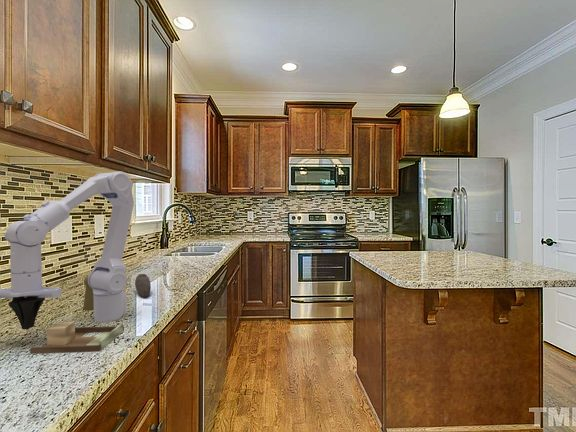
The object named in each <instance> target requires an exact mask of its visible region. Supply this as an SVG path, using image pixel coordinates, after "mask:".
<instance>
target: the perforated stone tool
mask: <svg viewBox="0 0 576 432" xmlns="http://www.w3.org/2000/svg"><path fill="white" fill-rule="evenodd" d="M134 285H135V286H134V287H135V289H136V292H137V294H139V296H141V297H148V296H149V295H150V293H151V289H152V284H151V281H150V277H149V276H148V275H147V274H146V273H139V274H137V276H136V277H135V281H134Z"/></svg>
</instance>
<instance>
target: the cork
mask: <svg viewBox="0 0 576 432" xmlns="http://www.w3.org/2000/svg"><path fill="white" fill-rule="evenodd" d="M88 277H89V275H87V276H85V277H84V280H83V283H84V285H85V291H84V292H85V293H84V299H83V300H84V301H83V310H84V311H94V298H93V289H92V288H91V287H90V286H89V284H88Z"/></svg>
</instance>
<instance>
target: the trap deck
mask: <svg viewBox="0 0 576 432" xmlns="http://www.w3.org/2000/svg"><path fill="white" fill-rule="evenodd" d="M124 331H125V325H123V323H120V324H119V325H115V326H113V325H112V326H109V325H108V326H82V327H78V326H77V327H76V326H75V338H74V339H73V340H72V341H70V342H69V343H67V344H66V345H49V346H47V342H46V343H44V345H42V346H31V347H30V348H29V354H30V355H33V354H35V355H36V354H62V353H63V354H64V353H92V352H93V353H95V352H101V351H102V350H104V349H105V348H106V347H107V346H109V344H111V343H112V342H113V341H114V340H115V339H116V338H118V336H119V335H121V334H122V333H123V332H124ZM87 333H89V334H91V333H100V334H98V335H97V336H84V335H86V334H87Z"/></svg>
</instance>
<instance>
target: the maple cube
mask: <svg viewBox="0 0 576 432" xmlns="http://www.w3.org/2000/svg"><path fill="white" fill-rule="evenodd" d="M75 327H76V323H75V321H67V322H66V321H65V322H63V321H62V322H56V323H54V324H53V325H51V326H49V327H47V328H46V343H47V346H49V345H66V344H67V343H69V342H70V341H72V340H73V339H74V338H75Z"/></svg>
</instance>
